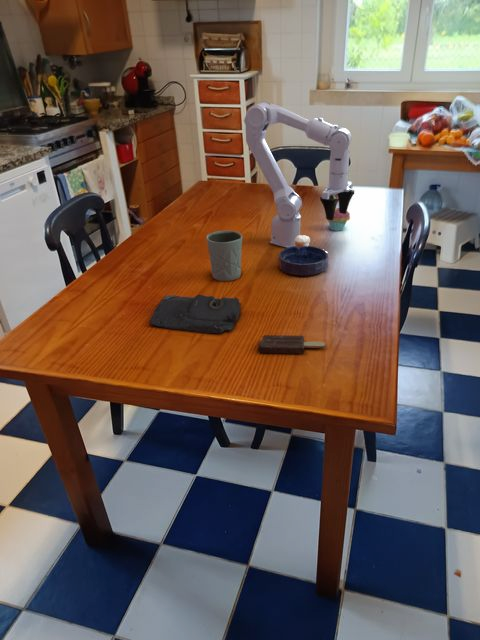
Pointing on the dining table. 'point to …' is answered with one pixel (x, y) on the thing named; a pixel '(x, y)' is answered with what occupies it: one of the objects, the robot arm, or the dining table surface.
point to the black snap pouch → (196, 313)
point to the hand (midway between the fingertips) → (336, 216)
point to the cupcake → (339, 220)
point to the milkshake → (302, 249)
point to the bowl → (314, 266)
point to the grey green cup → (225, 254)
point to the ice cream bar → (286, 344)
